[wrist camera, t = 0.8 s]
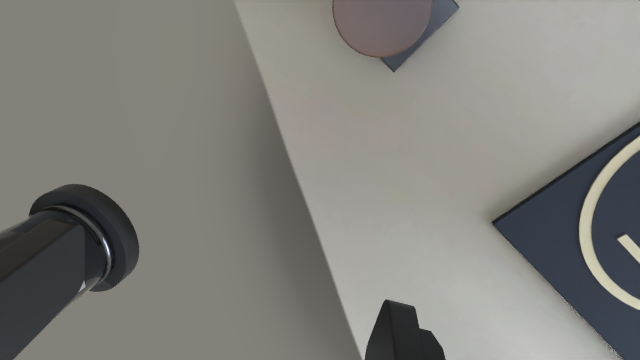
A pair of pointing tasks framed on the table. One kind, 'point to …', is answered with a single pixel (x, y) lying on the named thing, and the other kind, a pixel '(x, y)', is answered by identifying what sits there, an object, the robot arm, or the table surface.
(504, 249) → the table surface
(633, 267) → the face pad
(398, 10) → the stamp
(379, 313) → the robot arm
